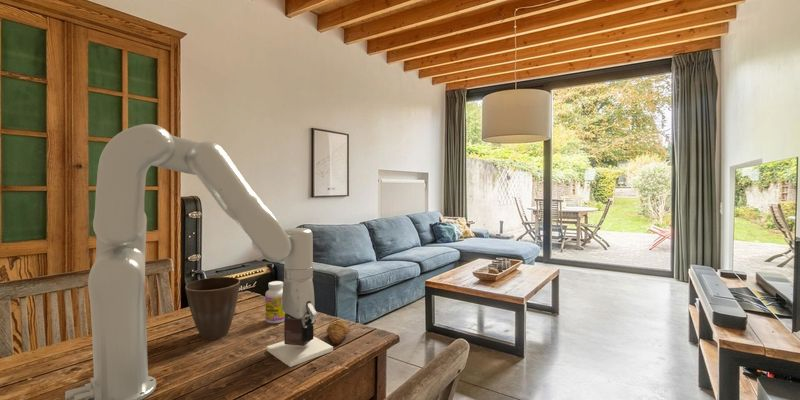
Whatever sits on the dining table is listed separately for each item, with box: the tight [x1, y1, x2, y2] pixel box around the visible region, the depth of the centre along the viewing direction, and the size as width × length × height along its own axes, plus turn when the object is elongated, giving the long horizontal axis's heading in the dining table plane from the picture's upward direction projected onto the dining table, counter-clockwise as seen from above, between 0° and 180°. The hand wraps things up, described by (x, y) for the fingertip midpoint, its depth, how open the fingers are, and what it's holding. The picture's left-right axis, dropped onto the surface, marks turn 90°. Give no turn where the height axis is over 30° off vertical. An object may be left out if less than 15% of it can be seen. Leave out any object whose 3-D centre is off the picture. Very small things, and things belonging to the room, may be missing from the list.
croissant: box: [326, 320, 350, 346], centre depth 115 cm, size 14×7×5 cm, turn 4°
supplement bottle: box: [264, 280, 285, 324], centre depth 128 cm, size 7×7×13 cm
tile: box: [266, 336, 334, 368], centre depth 105 cm, size 13×13×1 cm
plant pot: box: [184, 276, 241, 340], centre depth 116 cm, size 15×15×16 cm
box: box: [283, 313, 315, 346], centre depth 105 cm, size 6×6×7 cm
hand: (299, 335), depth 105 cm, fingers closed on box, 8 cm apart
